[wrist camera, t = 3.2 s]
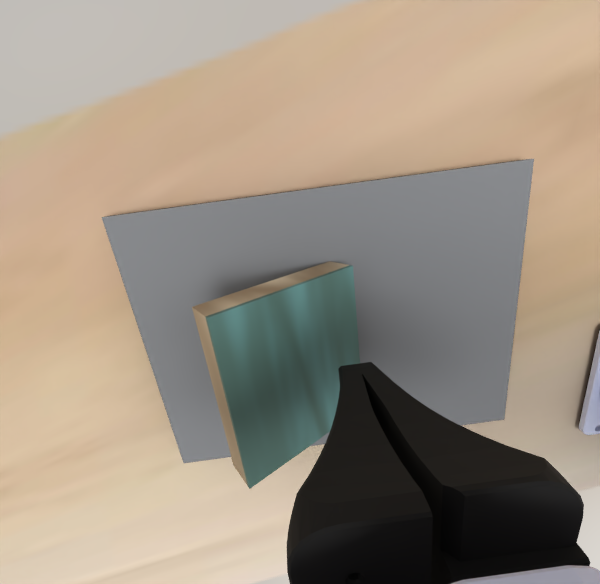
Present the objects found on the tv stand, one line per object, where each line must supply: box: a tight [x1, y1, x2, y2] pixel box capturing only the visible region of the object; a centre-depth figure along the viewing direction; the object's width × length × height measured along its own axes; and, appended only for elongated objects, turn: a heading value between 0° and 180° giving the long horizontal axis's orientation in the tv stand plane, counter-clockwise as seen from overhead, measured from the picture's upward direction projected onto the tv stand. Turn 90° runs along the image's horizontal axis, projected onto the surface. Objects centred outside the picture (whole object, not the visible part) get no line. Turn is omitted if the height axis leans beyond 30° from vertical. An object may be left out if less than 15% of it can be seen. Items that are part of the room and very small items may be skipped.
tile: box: [192, 261, 360, 488], centre depth 15 cm, size 2×8×7 cm
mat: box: [102, 159, 534, 463], centre depth 17 cm, size 20×15×1 cm
